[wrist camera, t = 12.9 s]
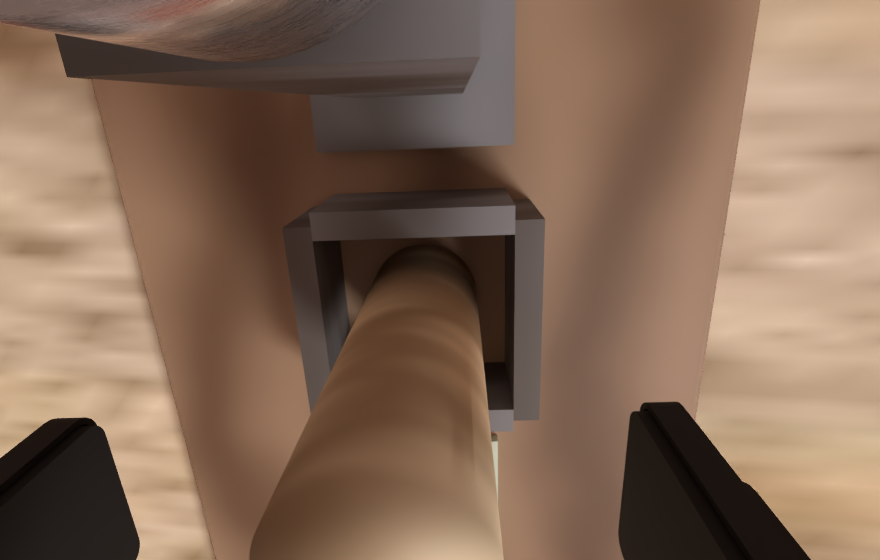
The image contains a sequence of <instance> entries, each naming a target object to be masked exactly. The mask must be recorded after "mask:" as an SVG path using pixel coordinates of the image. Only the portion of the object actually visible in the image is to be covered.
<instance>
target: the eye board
mask: <svg viewBox="0 0 880 560" xmlns="http://www.w3.org/2000/svg"><path fill="white" fill-rule="evenodd" d="M759 5H760V0H384V1H383V2H382V3H381V4H380V5H379V6H377V7H376V8H375V9H374V10H373V11H372V12H370V13H369V14H368V15H367V16H366V17H365V18H364V19H362V20H361V21H360V22H358V23H357V24H355V25H354V26H352V27H350V28H349V29H347V30H346V31H344V32H343V33H341V34H340V35H338V36H336V37H335V38H333V39H331V40H328V41H326V42H324V43H322V44H320V45H317V46H315V47H313V48H311V49H308V50H306V51H303V52H299V53H295V54H292V55H288V56H285V57H281V58H278V59H270V60H262V61H254V62H215V61H209V60H203V59H197V58H191V57H185V56H179V55H174V54H168V53H163V52H157V51H152V50H146V49H140V48H135V47H129V46H124V45H118V44H112V43H107V42H101V41H96V40H90V39H85V38H79V37H73V36H68V35H62V34H57V33H55V35H56V39H57V42H58V46H59V50H60V53H61V57H62V61H63V64H64V68H65V71H66V75H67V77H73V78H87V79H91V80H92V84H93V87H94V91H95V95H96V99H97V103H98V107H99V111H100V114H101V118H102V122H103V126H104V130H105V134H106V137H107V141H108V145H109V149H110V153H111V157H112V161H113V164H114V168H115V172H116V176H117V180H118V184H119V187H120V191H121V195H122V199H123V203H124V207H125V210H126V214H127V218H128V222H129V226H130V230H131V234H132V237H133V241H134V245H135V249H136V253H137V257H138V260H139V264H140V268H141V272H142V276H143V280H144V284H145V287H146V291H147V295H148V299H149V303H150V307H151V310H152V314H153V318H154V322H155V326H156V330H157V334H158V337H159V341H160V345H161V349H162V353H163V357H164V360H165V364H166V368H167V372H168V376H169V380H170V384H171V387H172V391H173V395H174V399H175V403H176V407H177V410H178V414H179V418H180V422H181V426H182V430H183V434H184V437H185V441H186V445H187V449H188V453H189V457H190V460H191V464H192V468H193V472H194V476H195V480H196V484H197V487H198V491H199V495H200V499H201V503H202V507H203V510H204V514H205V518H206V522H207V526H208V530H209V534H210V537H211V541H212V545H213V549H214V553H215V557H216V560H249V556H250V548H251V543H252V539H253V536H254V534H255V531H256V529H257V527H258V525H259V522H260V520H261V518H262V516H263V514H264V512H265V510H266V508H267V506H268V503H269V501H270V499H271V497H272V495H273V493H274V491H275V489H276V487H277V484H278V482H279V480H280V478H281V476H282V474H283V472H284V470H285V468H286V465H287V463H288V461H289V459H290V457H291V455H292V453H293V451H294V449H295V446H296V444H297V442H298V440H299V438H300V436H301V434H302V432H303V430H304V427H305V425H306V423H307V421H308V419H309V417H310V415H311V413H312V411H313V408H314V406H315V404H316V402H317V400H318V398H319V396H320V394H321V392H322V389H323V387H324V385H325V383H326V381H327V379H328V377H329V375H330V373H331V371H332V368H333V366H334V364H335V362H336V360H337V358H338V356H339V354H340V352H341V349H342V347H343V345H344V343H345V341H346V339H347V337H348V335H349V333H350V330H351V328H352V326H353V324H354V322H355V320H356V318H357V316H358V314H359V311H360V309H361V307H362V305H363V303H364V301H365V299H366V297H367V295H368V292H369V290H370V288H371V286H372V284H373V282H374V280H375V278H376V276H377V273H378V271H379V269H380V268H381V266H382V265H383V263H384V262H385V261H386V260H387V259H388V258H389V257H390V256H391V255H392V254H394V253H395V252H397V251H399V250H400V249H402V248H405V247H408V246H412V245H417V244H431V245H437V246H440V247H443V248H446V249H448V250H450V251H452V252H453V253H455V254H456V255H457V256H459V257H460V258H461V259H462V260H463V261H464V262H465V263H466V265H467V266H468V267H469V269H470V271H471V273H472V275H473V278H474V281H475V285H476V293H477V303H478V313H479V323H480V333H481V343H482V352H483V362H484V372H485V382H486V392H487V401H488V411H489V421H490V431H491V441H492V450H493V460H494V470H495V480H496V490H497V500H498V509H499V519H500V529H501V539H502V549H503V558H504V560H624V558H623V555H622V552H621V549H620V544H619V537H618V528H619V518H620V508H621V498H622V489H623V479H624V469H625V459H626V449H627V440H628V430H629V420H630V415H631V413H632V412H633V411H640V407H641V405H642V404H643V403H645V402H679V403H680V404H681V405H683V407H684V408H685V409H686V410H687V412H688V413H689V414H690V416H691V417H692V418H693V419H694V421H695V417H696V411H697V405H698V398H699V392H700V385H701V379H702V372H703V366H704V360H705V353H706V347H707V340H708V334H709V327H710V321H711V314H712V308H713V302H714V295H715V289H716V282H717V276H718V269H719V263H720V257H721V250H722V244H723V237H724V231H725V224H726V218H727V211H728V205H729V199H730V192H731V186H732V179H733V173H734V166H735V160H736V154H737V147H738V141H739V134H740V128H741V121H742V115H743V108H744V102H745V96H746V89H747V83H748V76H749V70H750V63H751V57H752V51H753V44H754V38H755V31H756V25H757V18H758V12H759Z"/></svg>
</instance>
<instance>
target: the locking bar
mask: <svg viewBox="0 0 880 560" xmlns="http://www.w3.org/2000/svg"><path fill="white" fill-rule="evenodd" d="M383 1H384V0H0V23H1V24H6V25H12V26H18V27H23V28H29V29H34V30H40V31H45V32H51V33H57V34H62V35H68V36H73V37H79V38H85V39H90V40H96V41H101V42H107V43H112V44H118V45H124V46H129V47H135V48H140V49H146V50H152V51H157V52H163V53H168V54H174V55H179V56H185V57H191V58H197V59H203V60H209V61H215V62H254V61H262V60H270V59H278V58H281V57H285V56H288V55H292V54H295V53H299V52H303V51H306V50H308V49H311V48H313V47H315V46H317V45H320V44H322V43H324V42H326V41H328V40H331V39H333V38H335V37H336V36H338V35H340V34H341V33H343V32H344V31H346V30H347V29H349V28H350V27H352V26H354V25H355V24H357V23H358V22H360V21H361V20H362V19H364V18H365V17H366V16H367V15H368V14H369V13H370V12H372V11H373V10H374V9H375V8H376V7H377V6H379V5H380V4H381V3H382V2H383Z"/></svg>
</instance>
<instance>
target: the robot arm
mask: <svg viewBox="0 0 880 560" xmlns="http://www.w3.org/2000/svg"><path fill="white" fill-rule="evenodd" d="M618 537H619V544H620V549H621V552H622V555H623V558H624V560H811V559H810V558H809V557H808V556H807V554H806V553H805V552H804V551H803V549H802V548H801V547H800V546H799V544H798V543H797V542H796V541H795V539H794V538H793V537H792V536H791V534H790V533H789V532H788V531H787V529H786V528H785V527H784V526H783V524H782V523H781V522H780V521H779V519H778V518H777V517H776V516H775V514H774V513H773V512H772V511H771V509H770V508H769V507H768V506H767V504H766V503H765V502H764V501H763V499H762V498H761V497H760V496H759V494H758V493H757V492H756V491H755V490H754V489H753V488H752V487H751V486H750V485H749V484H747V483H744V482H742V481H741V479H740V478H739V477H738V476H737V474H736V473H735V472H734V470H733V469H732V468H731V467H730V465H729V464H728V463H727V462H726V460H725V459H724V458H723V456H722V455H721V454H720V453H719V451H718V450H717V449H716V447H715V446H714V445H713V444H712V442H711V441H710V440H709V439H708V437H707V436H706V435H705V433H704V432H703V431H702V430H701V428H700V427H699V426H698V424H697V423H696V422H695V421H694V419H693V418H692V417H691V416H690V414H689V413H688V412H687V410H686V409H685V408H684V407H683V405H681V404H680V403H679V402H645V403H643V404H642V405H641V407H640V411H633V412H632V413H631V415H630V420H629V430H628V440H627V449H626V459H625V469H624V479H623V489H622V498H621V508H620V518H619V528H618ZM139 548H140V541H139V537H138V534H137V531H136V528H135V525H134V521H133V518H132V515H131V512H130V509H129V506H128V503H127V500H126V497H125V494H124V490H123V487H122V484H121V481H120V478H119V475H118V472H117V469H116V466H115V463H114V460H113V456H112V453H111V450H110V447H109V444H108V441H107V438H106V435H105V432H104V430H103V429H102V428H101V427H99V426H97V425H96V423H95V422H94V421H93V420H92V419H89V418H57V419H52V420H50V421H48V422H46V423H45V424H43V425H42V426H41V427H39V428H38V429H37V430H36V431H34V432H33V433H32V434H31V435H29V436H28V437H27V438H25V439H24V440H23V441H22V442H20V443H19V444H18V445H17V446H15V447H14V448H13V449H11V450H10V451H9V452H8V453H6V454H5V455H4V456H3V457H1V458H0V560H136V558H137V556H138V553H139Z"/></svg>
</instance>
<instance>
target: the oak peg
mask: <svg viewBox="0 0 880 560" xmlns="http://www.w3.org/2000/svg"><path fill="white" fill-rule="evenodd" d="M249 560H504V558H503V549H502V539H501V529H500V519H499V509H498V500H497V490H496V480H495V470H494V460H493V450H492V441H491V431H490V421H489V411H488V401H487V392H486V382H485V372H484V362H483V352H482V343H481V333H480V323H479V313H478V303H477V293H476V285H475V281H474V278H473V275H472V273H471V271H470V269H469V267H468V266H467V265H466V263H465V262H464V261H463V260H462V259H461V258H460V257H459V256H457V255H456V254H455V253H453V252H452V251H450V250H448V249H446V248H443V247H440V246H437V245H431V244H417V245H412V246H408V247H405V248H402V249H400V250H399V251H397V252H395V253H394V254H392V255H391V256H390V257H389V258H388V259H387V260H386V261H385V262H384V263H383V265H382V266H381V268H380V269H379V271H378V273H377V276H376V278H375V280H374V282H373V284H372V286H371V288H370V290H369V292H368V295H367V297H366V299H365V301H364V303H363V305H362V307H361V309H360V311H359V314H358V316H357V318H356V320H355V322H354V324H353V326H352V328H351V330H350V333H349V335H348V337H347V339H346V341H345V343H344V345H343V347H342V349H341V352H340V354H339V356H338V358H337V360H336V362H335V364H334V366H333V368H332V371H331V373H330V375H329V377H328V379H327V381H326V383H325V385H324V387H323V389H322V392H321V394H320V396H319V398H318V400H317V402H316V404H315V406H314V408H313V411H312V413H311V415H310V417H309V419H308V421H307V423H306V425H305V427H304V430H303V432H302V434H301V436H300V438H299V440H298V442H297V444H296V446H295V449H294V451H293V453H292V455H291V457H290V459H289V461H288V463H287V465H286V468H285V470H284V472H283V474H282V476H281V478H280V480H279V482H278V484H277V487H276V489H275V491H274V493H273V495H272V497H271V499H270V501H269V503H268V506H267V508H266V510H265V512H264V514H263V516H262V518H261V520H260V522H259V525H258V527H257V529H256V531H255V534H254V536H253V539H252V543H251V548H250V556H249Z"/></svg>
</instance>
